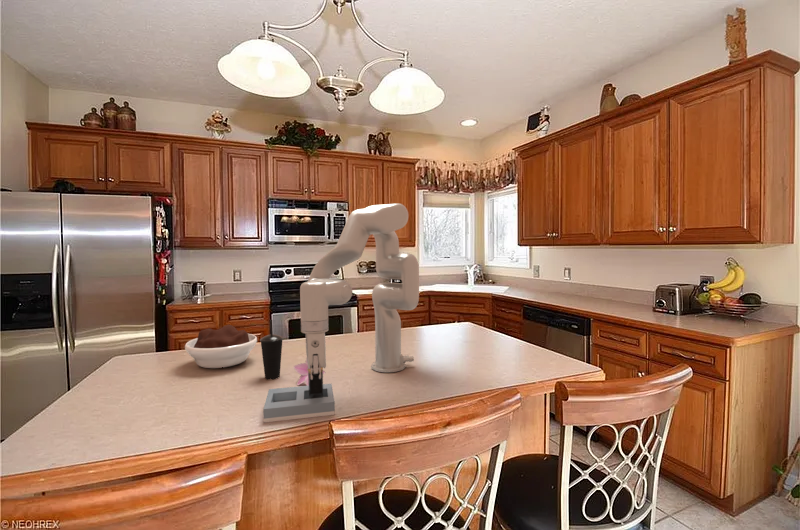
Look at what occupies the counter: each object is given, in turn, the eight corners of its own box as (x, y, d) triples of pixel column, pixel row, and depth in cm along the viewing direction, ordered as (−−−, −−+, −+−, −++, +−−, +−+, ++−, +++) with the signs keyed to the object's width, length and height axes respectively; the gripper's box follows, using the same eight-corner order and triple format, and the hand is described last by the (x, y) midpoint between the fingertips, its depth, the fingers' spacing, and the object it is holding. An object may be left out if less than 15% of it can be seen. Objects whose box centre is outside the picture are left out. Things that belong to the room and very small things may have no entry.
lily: (293, 382, 128) (284, 362, 123) (323, 363, 133) (316, 343, 128) (307, 403, 119) (298, 383, 114) (339, 383, 124) (331, 362, 119)
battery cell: (323, 393, 108) (322, 361, 108) (323, 399, 104) (323, 365, 104) (308, 395, 107) (308, 362, 107) (308, 400, 103) (308, 366, 103)
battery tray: (331, 394, 114) (331, 383, 114) (334, 414, 100) (334, 401, 100) (269, 400, 110) (269, 389, 109) (263, 422, 96) (263, 409, 96)
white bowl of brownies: (240, 375, 132) (239, 333, 131) (170, 375, 132) (169, 333, 131) (267, 355, 157) (266, 319, 156) (208, 355, 157) (207, 319, 156)
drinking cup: (276, 381, 125) (275, 322, 124) (256, 380, 127) (254, 321, 126) (288, 374, 133) (286, 318, 132) (268, 372, 134) (267, 317, 133)
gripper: (329, 331, 98) (331, 400, 98) (327, 319, 114) (328, 378, 115) (300, 333, 96) (301, 403, 97) (301, 320, 112) (302, 381, 113)
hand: (315, 389), depth 106 cm, fingers closed on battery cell, 4 cm apart
